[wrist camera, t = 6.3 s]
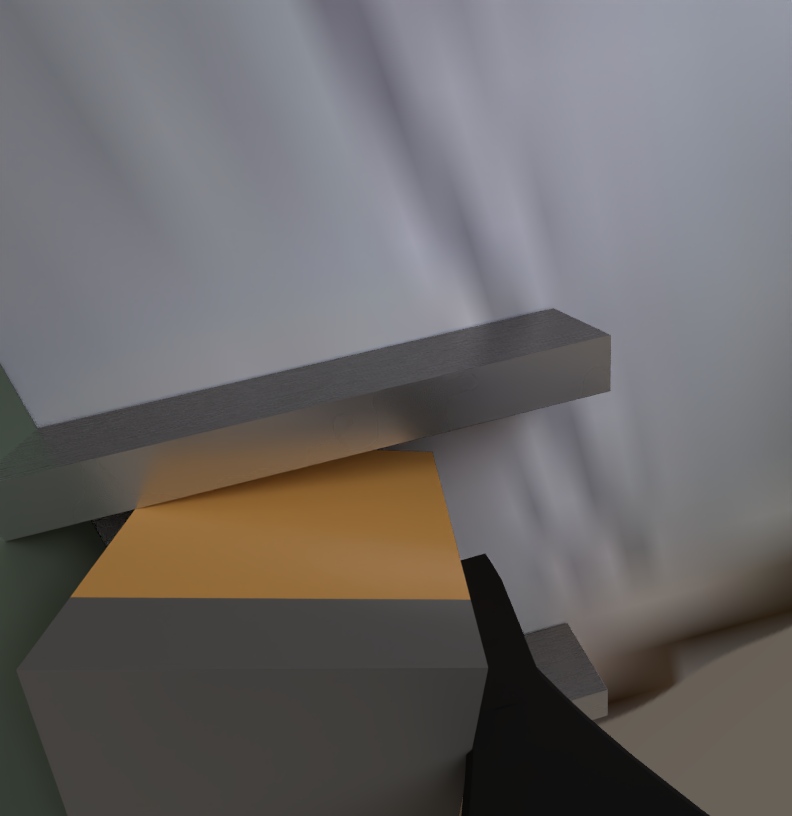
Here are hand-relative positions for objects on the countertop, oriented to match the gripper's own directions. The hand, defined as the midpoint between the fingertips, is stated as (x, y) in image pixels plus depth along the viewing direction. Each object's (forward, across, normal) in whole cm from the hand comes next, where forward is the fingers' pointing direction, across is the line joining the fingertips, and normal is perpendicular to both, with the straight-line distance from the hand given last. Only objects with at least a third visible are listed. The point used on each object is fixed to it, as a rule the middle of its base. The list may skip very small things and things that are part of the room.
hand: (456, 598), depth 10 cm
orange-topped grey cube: (+1, +3, -1) cm, 3 cm away
